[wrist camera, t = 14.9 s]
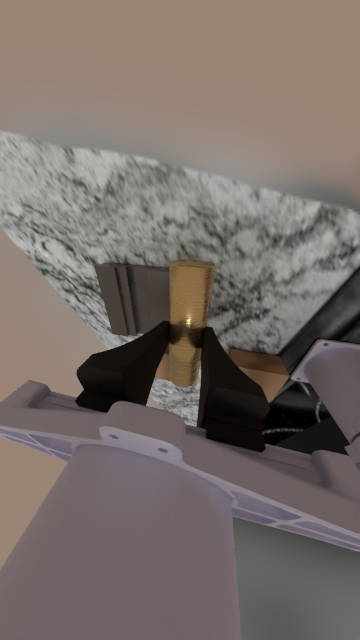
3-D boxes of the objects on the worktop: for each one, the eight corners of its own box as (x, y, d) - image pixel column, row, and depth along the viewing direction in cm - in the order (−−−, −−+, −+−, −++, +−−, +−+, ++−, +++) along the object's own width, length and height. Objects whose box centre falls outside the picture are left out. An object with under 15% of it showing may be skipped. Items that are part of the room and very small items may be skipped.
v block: (182, 269, 17) (178, 273, 15) (178, 335, 22) (175, 344, 20) (106, 262, 18) (94, 265, 16) (120, 326, 23) (112, 333, 21)
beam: (278, 356, 20) (289, 376, 17) (263, 381, 23) (271, 401, 21) (160, 337, 23) (153, 351, 20) (161, 362, 26) (155, 377, 23)
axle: (173, 259, 11) (165, 266, 8) (213, 261, 11) (218, 270, 8) (171, 361, 17) (166, 385, 15) (197, 364, 17) (196, 389, 14)
